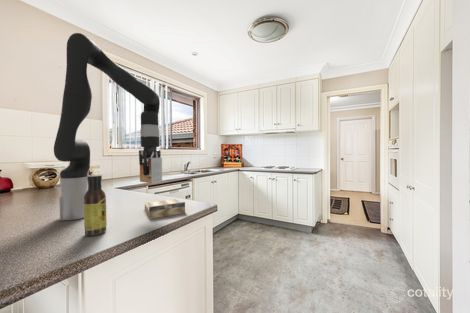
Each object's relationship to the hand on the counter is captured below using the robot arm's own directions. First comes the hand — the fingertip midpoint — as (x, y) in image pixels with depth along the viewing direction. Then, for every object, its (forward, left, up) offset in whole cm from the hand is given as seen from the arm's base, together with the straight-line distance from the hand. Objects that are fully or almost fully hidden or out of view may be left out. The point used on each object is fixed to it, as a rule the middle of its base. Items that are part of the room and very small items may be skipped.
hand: (151, 174), depth 87 cm
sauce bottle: (-19, -10, -18) cm, 28 cm away
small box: (0, 0, -4) cm, 4 cm away
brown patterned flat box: (+6, +4, -18) cm, 20 cm away
